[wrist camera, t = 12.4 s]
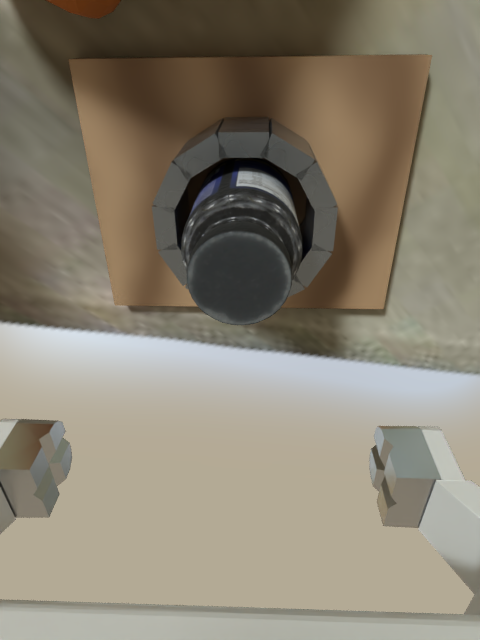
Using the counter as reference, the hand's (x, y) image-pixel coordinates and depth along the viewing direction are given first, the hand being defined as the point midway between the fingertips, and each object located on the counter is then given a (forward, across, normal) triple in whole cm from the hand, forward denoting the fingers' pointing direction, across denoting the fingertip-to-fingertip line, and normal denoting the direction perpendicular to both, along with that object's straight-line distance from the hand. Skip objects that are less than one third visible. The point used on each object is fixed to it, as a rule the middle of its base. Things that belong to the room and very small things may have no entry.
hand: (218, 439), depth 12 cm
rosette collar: (+20, 0, 0) cm, 20 cm away
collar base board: (+22, 0, 0) cm, 22 cm away
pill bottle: (+20, 0, 0) cm, 20 cm away
